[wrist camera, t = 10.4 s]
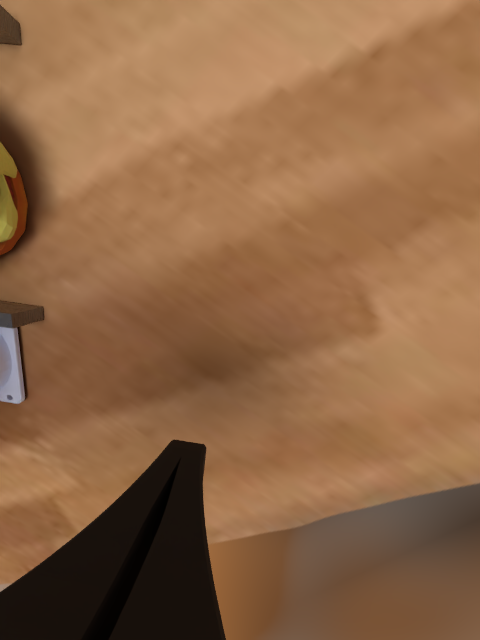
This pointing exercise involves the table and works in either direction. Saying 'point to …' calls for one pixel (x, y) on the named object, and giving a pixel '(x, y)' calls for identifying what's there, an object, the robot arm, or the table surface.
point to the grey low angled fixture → (4, 313)
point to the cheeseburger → (11, 202)
